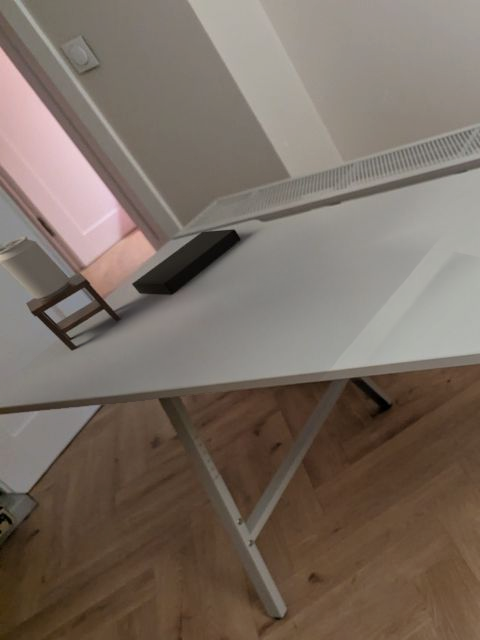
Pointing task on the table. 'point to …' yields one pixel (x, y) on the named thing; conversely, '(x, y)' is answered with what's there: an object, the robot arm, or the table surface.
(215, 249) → the external hard drive
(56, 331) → the stand
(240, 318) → the table surface
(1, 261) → the can
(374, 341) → the table surface
